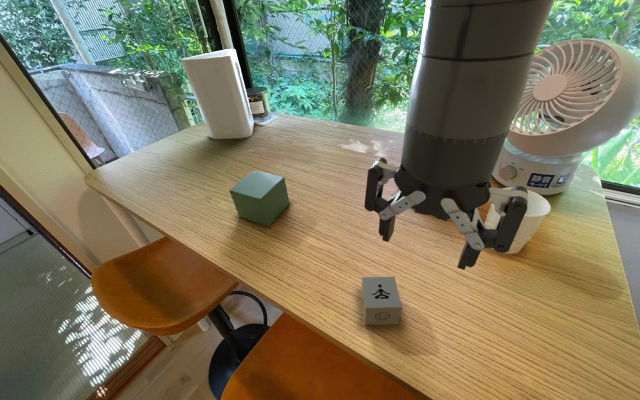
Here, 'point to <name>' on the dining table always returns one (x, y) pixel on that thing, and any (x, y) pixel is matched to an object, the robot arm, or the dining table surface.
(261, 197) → the green block
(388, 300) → the dice cube
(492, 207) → the white cup
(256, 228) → the dining table surface
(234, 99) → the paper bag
